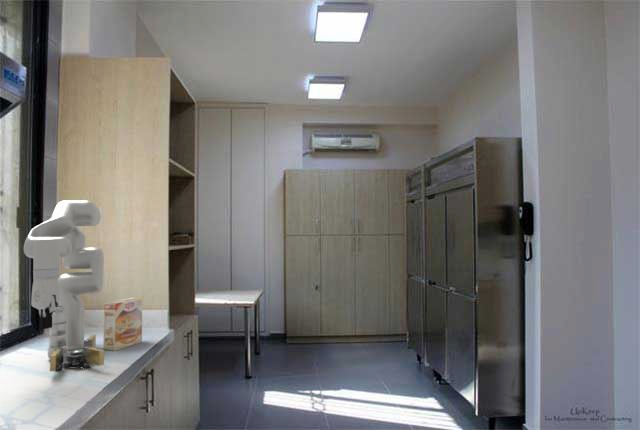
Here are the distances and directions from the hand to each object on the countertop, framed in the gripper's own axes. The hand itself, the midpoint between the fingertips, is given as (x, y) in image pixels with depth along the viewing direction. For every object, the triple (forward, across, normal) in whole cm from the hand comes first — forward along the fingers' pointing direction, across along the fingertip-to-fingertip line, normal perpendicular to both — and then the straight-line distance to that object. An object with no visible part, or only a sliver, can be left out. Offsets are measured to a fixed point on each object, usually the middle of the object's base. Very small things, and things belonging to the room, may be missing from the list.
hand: (45, 328), depth 146 cm
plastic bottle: (+17, -18, +12) cm, 28 cm away
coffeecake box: (+17, -15, +38) cm, 44 cm away
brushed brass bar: (+16, 0, +3) cm, 17 cm away
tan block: (+16, +7, +12) cm, 22 cm away
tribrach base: (+16, -3, +12) cm, 21 cm away
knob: (+17, -9, +20) cm, 28 cm away
